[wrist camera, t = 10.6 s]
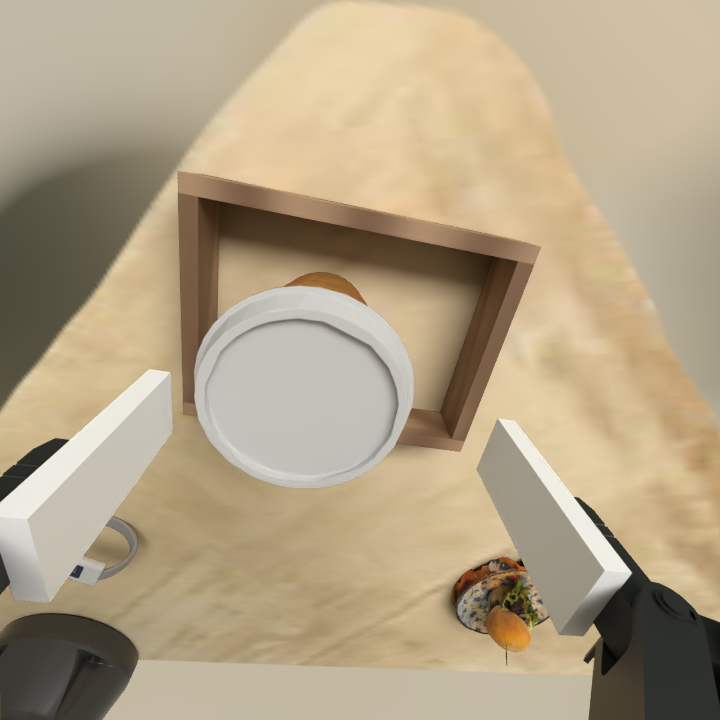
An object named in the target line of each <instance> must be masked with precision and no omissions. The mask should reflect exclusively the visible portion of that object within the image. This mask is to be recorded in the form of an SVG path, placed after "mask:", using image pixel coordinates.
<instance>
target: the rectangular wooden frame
mask: <svg viewBox="0 0 720 720" xmlns="http://www.w3.org/2000/svg"><path fill="white" fill-rule="evenodd" d="M220 201H222V202H227V203H232V204H237V205H242V206H247V207H252V208H257V209H262V210H267V211H272V212H277V213H281V214H286V215H291V216H296V217H301V218H306V219H311V220H316V221H321V222H326V223H331V224H336V225H341V226H346V227H351V228H356V229H361V230H366V231H371V232H376V233H381V234H386V235H391V236H396V237H401V238H406V239H410V240H415V241H420V242H425V243H430V244H435V245H440V246H445V247H450V248H455V249H460V250H465V251H470V252H475V253H480V254H485V255H490V256H494V258H493V260H492V263H491V266H490V269H489V272H488V275H487V278H486V281H485V284H484V287H483V290H482V292H481V295H480V298H479V301H478V304H477V307H476V310H475V313H474V316H473V319H472V322H471V324H470V327H469V330H468V333H467V336H466V339H465V342H464V345H463V348H462V351H461V354H460V357H459V359H458V362H457V365H456V368H455V371H454V374H453V377H452V380H451V383H450V386H449V389H448V391H447V394H446V397H445V400H444V403H443V406H442V409H441V412H433V411H426V410H420V409H413V408H411V411H410V413H409V416H408V418H407V421H406V423H405V425H404V428H403V430H402V432H401V434H400V436H399V438H398V440H397V442H396V443H398V444H406V445H413V446H421V447H428V448H435V449H443V450H450V451H458V452H460V451H461V449H462V446H463V444H464V441H465V439H466V436H467V434H468V431H469V429H470V426H471V424H472V421H473V419H474V416H475V413H476V411H477V408H478V406H479V403H480V401H481V398H482V396H483V393H484V391H485V388H486V386H487V383H488V381H489V378H490V375H491V373H492V370H493V368H494V365H495V363H496V360H497V358H498V355H499V353H500V350H501V348H502V345H503V342H504V340H505V337H506V335H507V332H508V330H509V327H510V325H511V322H512V320H513V317H514V315H515V312H516V310H517V307H518V304H519V302H520V299H521V297H522V294H523V292H524V289H525V287H526V284H527V282H528V279H529V277H530V274H531V272H532V269H533V266H534V264H535V261H536V259H537V256H538V254H539V251H540V249H541V247H540V246H536V245H533V244H529V243H526V242H522V241H518V240H515V239H510V238H505V237H501V236H496V235H491V234H486V233H481V232H477V231H472V230H467V229H462V228H457V227H453V226H448V225H443V224H438V223H433V222H429V221H424V220H419V219H414V218H409V217H405V216H400V215H395V214H390V213H385V212H381V211H376V210H371V209H366V208H362V207H357V206H352V205H347V204H342V203H338V202H333V201H328V200H323V199H318V198H314V197H309V196H304V195H299V194H294V193H290V192H285V191H280V190H275V189H270V188H266V187H261V186H256V185H251V184H246V183H242V182H237V181H232V180H227V179H222V178H218V177H213V176H208V175H203V174H195V173H187V172H179V171H178V211H179V252H180V292H181V333H182V374H183V414H184V415H191V416H198V414H197V409H196V404H195V399H194V395H195V381H194V369H195V364H196V358H197V353H198V351H199V349H200V346H201V344H202V341H203V339H204V337H205V336H206V334H207V333H208V331H209V330H210V328H211V327H212V325H213V324H214V323H215V322H216V321H217V305H218V257H219V209H220Z"/></svg>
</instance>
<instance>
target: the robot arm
mask: <svg viewBox="0 0 720 720" xmlns="http://www.w3.org/2000/svg"><path fill="white" fill-rule="evenodd" d="M172 432H173V424H172V394H171V372H166V371H158V370H151V369H149V370H148V371H147V372H146V373H144V374H143V375H142V376H141V377H140V378H139V379H138V380H137V381H135V382H134V383H133V384H132V385H131V386H130V387H129V388H128V389H127V390H125V391H124V392H123V393H122V394H121V395H120V396H119V397H118V398H116V399H115V400H114V401H113V402H112V403H111V404H110V405H109V406H108V407H106V408H105V409H104V410H103V411H102V412H101V413H100V414H99V415H97V416H96V417H95V418H94V419H93V420H92V421H91V422H90V423H89V424H87V425H86V426H85V427H84V428H83V429H82V430H81V431H80V432H78V433H77V434H76V435H75V436H74V437H73V438H72V439H71V440H66V439H58V438H55V439H53V440H51V441H49V442H47V443H45V444H43V445H41V446H38V447H36V448H34V449H33V450H32V451H30V452H29V453H28V454H27V455H25V456H24V457H23V458H22V459H21V460H19V461H18V462H17V464H16V465H13V466H12V467H11V468H10V469H8V470H7V471H6V472H5V473H3V476H2V477H0V594H1V593H2V592H3V591H4V590H5V588H6V587H7V586H8V585H9V586H10V589H11V592H12V595H13V598H14V600H17V601H33V602H49V603H50V602H51V600H52V599H53V598H54V596H55V595H56V593H57V592H58V591H59V589H60V588H61V587H62V585H63V584H64V582H65V581H66V580H67V578H68V577H69V575H70V574H71V573H72V571H73V570H74V568H75V567H76V566H77V564H78V563H79V562H80V560H81V559H82V557H83V556H84V555H85V553H86V552H87V550H88V549H89V548H90V546H91V545H92V543H93V542H94V541H95V539H96V538H97V537H98V535H99V534H100V532H101V531H102V530H103V528H104V527H105V525H106V524H107V523H108V521H109V520H110V518H111V517H112V516H113V514H114V513H115V512H116V510H117V509H118V507H119V506H120V505H121V503H122V502H123V500H124V499H125V498H126V496H127V495H128V493H129V492H130V491H131V489H132V488H133V487H134V485H135V484H136V482H137V481H138V480H139V478H140V477H141V475H142V474H143V473H144V471H145V470H146V468H147V467H148V466H149V464H150V463H151V462H152V460H153V459H154V457H155V456H156V455H157V453H158V452H159V450H160V449H161V448H162V446H163V445H164V443H165V442H166V441H167V439H168V438H169V437H170V435H171V434H172ZM477 471H478V473H479V475H480V477H481V479H482V481H483V483H484V485H485V487H486V489H487V491H488V493H489V495H490V497H491V499H492V501H493V503H494V505H495V507H496V509H497V511H498V513H499V515H500V517H501V519H502V521H503V523H504V525H505V527H506V529H507V531H508V533H509V535H510V537H511V540H512V542H513V544H514V546H515V548H516V550H517V552H518V554H519V556H520V558H521V560H522V562H523V564H524V566H525V568H526V570H527V572H528V574H529V576H530V578H531V580H532V582H533V584H534V586H535V588H536V590H537V592H538V594H539V596H540V598H541V600H542V602H543V604H544V606H545V608H546V610H547V612H548V614H549V616H550V618H551V620H552V622H553V624H554V626H555V628H556V630H557V632H558V634H559V635H571V636H584V635H585V633H586V632H587V631H588V630H589V628H590V627H591V626H592V624H593V623H594V624H595V626H596V628H597V630H598V631H599V633H600V635H601V637H600V638H599V639H598V641H597V642H596V643H595V644H594V645H593V647H592V648H591V649H590V650H589V652H588V653H587V654H586V656H585V658H584V660H583V661H585V662H586V663H587V664H588V663H589V662H590V660H591V659H592V658H595V659H594V669H593V679H592V690H591V700H590V710H589V720H720V622H717V621H715V620H712V619H709V618H707V617H704V616H701V615H699V614H698V613H697V612H696V611H695V609H694V608H693V607H692V606H691V605H690V604H689V603H688V602H687V601H686V600H685V599H684V598H683V597H682V596H680V595H679V594H677V593H676V592H674V591H673V590H671V589H670V588H668V587H666V586H664V585H662V584H659V583H655V582H651V581H650V580H649V578H648V577H647V576H646V575H645V573H644V572H643V571H642V570H641V569H640V567H639V566H638V565H637V564H636V562H635V561H634V560H633V559H632V557H631V556H630V555H629V554H628V552H627V551H626V550H625V549H624V547H623V546H622V545H621V544H620V542H619V541H618V540H617V539H616V538H614V535H613V534H612V532H611V531H610V530H609V529H608V527H605V524H604V522H603V521H602V520H601V519H600V517H599V516H598V515H597V514H596V513H595V511H594V510H593V509H592V508H590V507H589V506H588V505H587V504H586V503H584V502H583V501H582V500H581V499H580V498H578V497H573V496H572V494H571V493H570V492H569V491H568V489H567V488H566V487H565V485H564V484H563V483H562V481H561V480H560V479H559V478H558V476H557V475H556V474H555V472H554V471H553V470H552V469H551V467H550V466H549V465H548V463H547V462H546V461H545V459H544V458H543V457H542V456H541V454H540V453H539V452H538V450H537V449H536V448H535V446H534V445H533V444H532V443H531V441H530V440H529V439H528V437H527V436H526V435H525V434H524V432H523V431H522V430H521V428H520V427H519V426H518V424H517V423H516V422H515V421H512V420H505V419H497V421H496V424H495V426H494V429H493V431H492V433H491V436H490V438H489V441H488V443H487V445H486V448H485V450H484V452H483V455H482V457H481V460H480V462H479V464H478V467H477ZM137 661H138V655H137V652H136V649H135V648H134V646H133V645H132V643H131V642H130V641H129V640H128V639H127V638H126V637H124V636H123V635H122V634H120V633H119V632H117V631H116V630H114V629H112V628H110V627H108V626H106V625H103V624H101V623H98V622H95V621H92V620H89V619H85V618H81V617H76V616H69V615H60V614H42V615H33V616H28V617H24V618H21V619H18V620H16V621H14V622H12V623H10V624H9V625H7V626H6V627H5V628H4V629H3V631H2V632H1V633H0V720H102V719H103V718H104V717H105V715H106V714H107V713H108V711H109V710H110V708H111V707H112V706H113V705H114V703H115V702H116V701H117V699H118V698H119V696H120V695H121V694H122V693H123V691H124V690H125V688H126V686H127V685H128V683H129V680H130V678H131V676H132V674H133V671H134V669H135V667H136V665H137Z"/></svg>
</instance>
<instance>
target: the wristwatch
mask: <svg viewBox="0 0 720 720" xmlns="http://www.w3.org/2000/svg"><path fill="white" fill-rule="evenodd" d="M105 526H108V527H111V528H114V529H116V530H117V531H119V532H120V533H121V534H123V535H124V536H125V538H126V539H127V540H128V542H129V545H130V553H129V555H128V556H127V557H126V558H125V559H124V560H123V561H122V562H120V563H119V564H117V565H115V566H113V567H110V568H107V569H105V566H106V564H107V563H104V562H101V561H98V560H95V559H92V558H89V557H86V556H83V557H82V559H81V560H80V562H79V563H78V564H77V566H76V567H75V568H74V570H73V571H72V573H71V574H70V575H69V577H68V579H71V580H74V581H78V582H81V583H84V584H87V585H91V586H95V584H96V582H97V581H98V580H102V579H106V578H108V577H111V576H113V575H114V574H116V573H118V572H119V571H121V570H122V569H123V568H124V567H126V566H127V565H128V564H129V562H130V561H131V560H132V558H133V556H134V555H135V553H136V551H137V548H138V538H137V535H136V533H135V532H134V531H133V529H132V528H131V527H130V526H129V525H128V524H126V523H125V522H123V521H122V520H120V519H118V518H116V517H113V516H112V517H111V518H110V520H109V521H108V523H107V524H106V525H105Z"/></svg>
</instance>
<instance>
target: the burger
mask: <svg viewBox="0 0 720 720" xmlns="http://www.w3.org/2000/svg"><path fill="white" fill-rule="evenodd" d="M455 586H456V587H455ZM453 594H454V595H453ZM451 600H452V603H453V605H454V607H455V608H456V615H457V618H458V620H459V621H460V622H461V623H462V625H464V626H465V627H466V628H468V629H470V630H474V631H475V632H478V633H482V634H489V635H490V636H491V637H492V639H493V640H494V641H495V642H496V643H497V644H498V645H499V646H500V647H502V648H504V649H506V665H507V650H509V651H513V652H521V651H524V650H525V649H526V648H527V647H528V646H529V644H530V641H531V635H530V632H531V630H532V627H534V626H536V625H538V624H540V623H542V622H543V621H545V620H546V619H548V618H549V617H550V616H549V614H548V612H547V610H546V608H545V606H544V604H543V602H542V600H541V598H540V596H539V594H538V592H537V590H536V588H535V586H534V584H533V582H532V580H531V578H530V576H529V574H528V572H527V570H526V568H525V567H523V566H519V565H518V564H517V563H516V562H514V561H513V560H511V559H509V558H504V557H501V558H498V561H497V560H491V562H490V564H489V565H487V566H482V569H481V570H477V571H476V572H475V571H474V570H472V569H470V570H469V571H468V572H467V573H464V575H463V576H462V579H461V583H458V582H457V583H456V584H455V585H454V587H453V590H452V597H451Z"/></svg>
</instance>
